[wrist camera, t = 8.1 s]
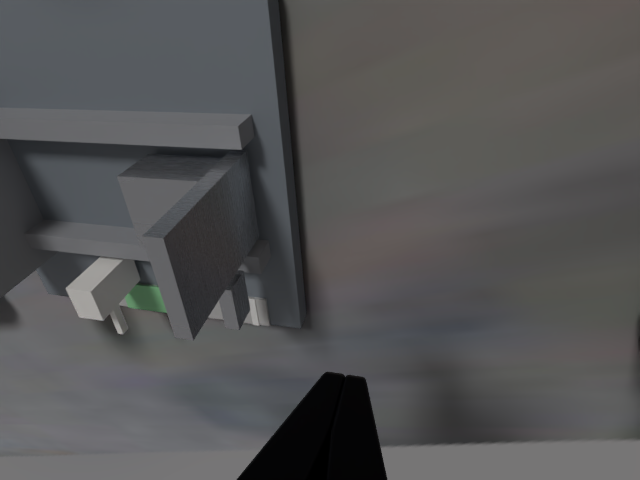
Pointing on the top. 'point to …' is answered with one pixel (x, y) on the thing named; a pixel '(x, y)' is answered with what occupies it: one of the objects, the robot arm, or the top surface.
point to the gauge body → (140, 134)
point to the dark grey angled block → (195, 233)
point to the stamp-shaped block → (104, 290)
